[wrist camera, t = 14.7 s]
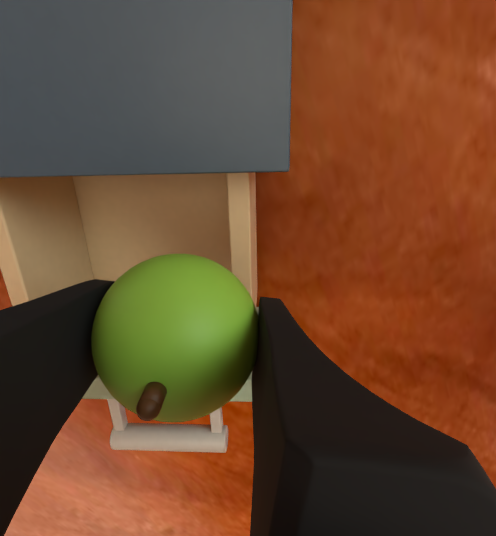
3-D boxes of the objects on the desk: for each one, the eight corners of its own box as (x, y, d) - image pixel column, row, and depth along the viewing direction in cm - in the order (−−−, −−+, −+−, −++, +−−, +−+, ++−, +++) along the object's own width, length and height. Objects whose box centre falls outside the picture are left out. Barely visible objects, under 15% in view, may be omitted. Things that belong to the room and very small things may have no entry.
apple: (286, 313, 12) (301, 444, 7) (185, 371, 13) (135, 518, 8) (208, 205, 11) (157, 273, 6) (102, 279, 12) (-16, 389, 7)
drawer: (269, 396, 23) (270, 490, 17) (106, 393, 24) (51, 483, 18) (268, 87, 16) (269, 64, 10) (38, 95, 17) (-89, 78, 11)
